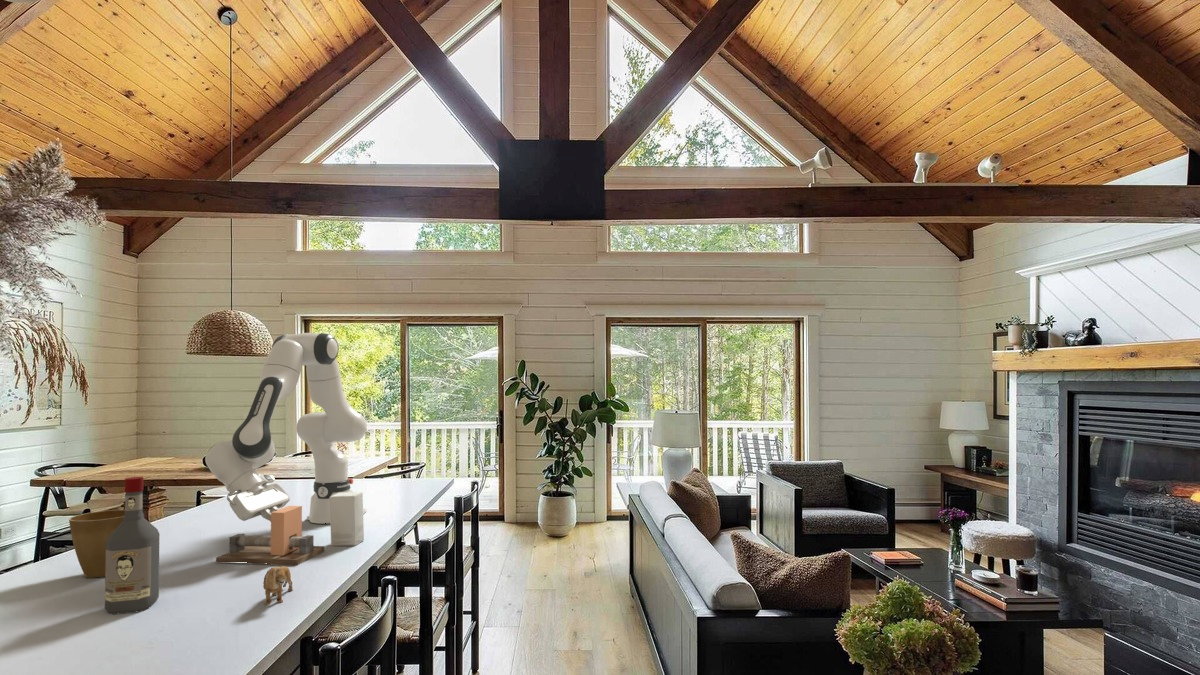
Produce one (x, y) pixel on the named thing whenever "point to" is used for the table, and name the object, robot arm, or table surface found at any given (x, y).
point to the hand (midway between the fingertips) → (278, 521)
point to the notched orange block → (285, 529)
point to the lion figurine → (276, 582)
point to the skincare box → (346, 519)
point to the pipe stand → (268, 550)
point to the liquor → (132, 557)
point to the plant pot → (93, 539)
